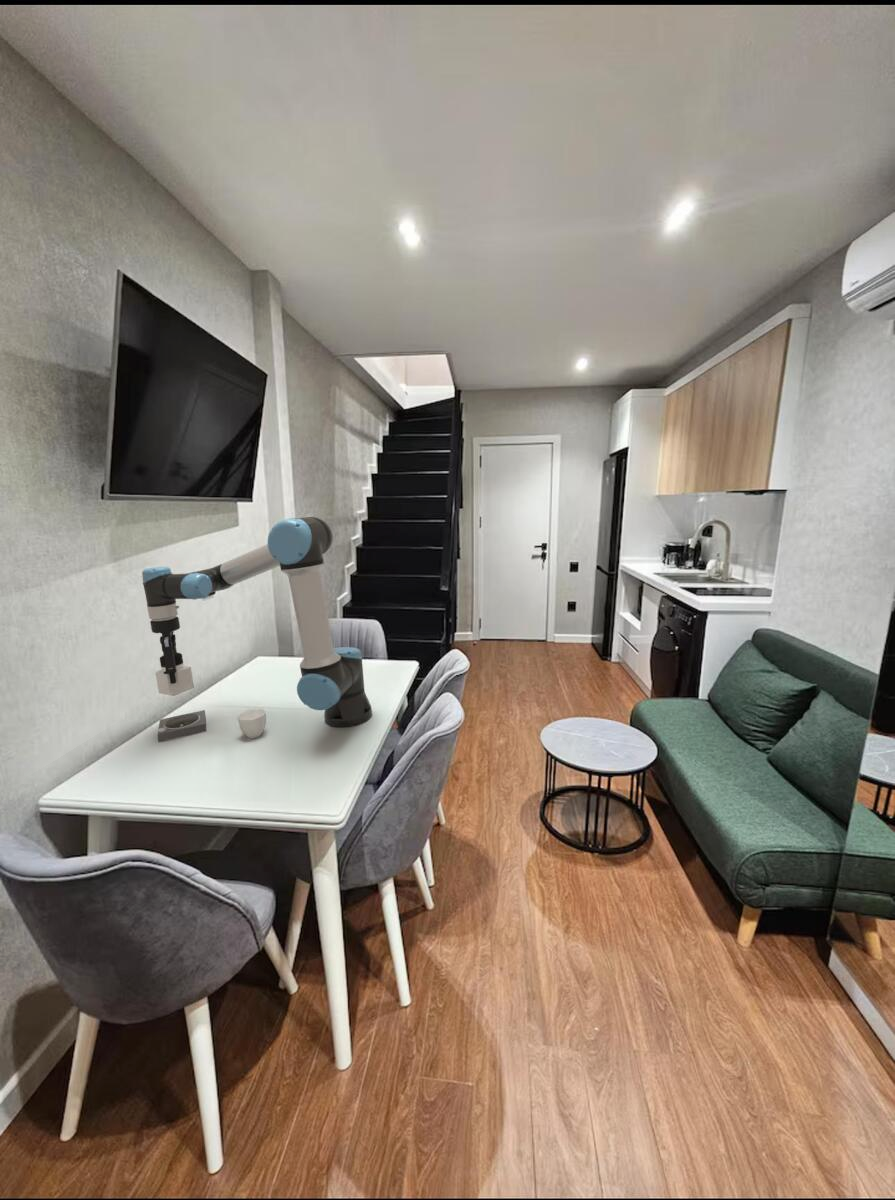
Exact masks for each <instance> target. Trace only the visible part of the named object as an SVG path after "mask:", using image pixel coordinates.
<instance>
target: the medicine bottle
mask: <svg viewBox="0 0 895 1200" xmlns="http://www.w3.org/2000/svg"><path fill="white" fill-rule="evenodd" d="M174 657H175V665H176V669H177V673H178V679H179V685H180V692H178V693H173V694H170V689H169V684H168V678H167V674H164V672H165V671H166V669H165V662H164V655H163V654H162V655H161V656H160V657H159V663H160V668H161V669H159V670H156V671H155V679H156V684H157V685H156V686H157V689H158V693H159V694H162V695H168V696H173V697H174V696H177V695H180V694H182V693H184V692H187V691H190V690H192V689H193V688H195V685H194V680H193V678H194V677H193V674H192V673H193V672H192V667H191V666H187V665H184V659H183V654H182V653H181V652H178V651H177V652H174ZM169 669H172V668H169Z"/></svg>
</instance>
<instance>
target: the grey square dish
mask: <svg viewBox="0 0 895 1200" xmlns="http://www.w3.org/2000/svg"><path fill="white" fill-rule="evenodd" d="M204 732H207V716H206V711H205V709H204V710H198V711H193V712H188V713H185V714H179V715H176V716H170V717H166V718H161V719H160V720H159V723H158V729H157V734H156V735H157V741H158V743H161V741H162V742H166V741H169V740H173V739H179V738H183V737H187V736H191V735H192V736H193V735H196V734H200V733H204ZM165 740H166V741H165Z"/></svg>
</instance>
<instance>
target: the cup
mask: <svg viewBox="0 0 895 1200" xmlns="http://www.w3.org/2000/svg"><path fill="white" fill-rule="evenodd" d="M237 721H238V725H239V726H238V727H239V728H240V730H241V732H242V734H244V735H245V736H246V737H247V738H249V739H253V738H258V737H260V736H261V735H262V734H263V732H264V730H265V728H266V725H267V716H266V710H264V709H263V708H262V709H261V708H253V709H248V710H245V711H242V712H241V713H240V714H238V716H237Z"/></svg>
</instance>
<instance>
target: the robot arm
mask: <svg viewBox="0 0 895 1200" xmlns="http://www.w3.org/2000/svg"><path fill="white" fill-rule="evenodd" d="M333 535H334V534H333V532H332V529H331V527H330V526H329V524H328V523H327V522H326V521H325V520H323V519H321V518H319V517H316V516H307V517H290V518H286V519H283V520H280V521H277V522H276V523H275V524H274V525H273V527H272V528H271V529H270V531H269V533H268V536H267V544H265V545H262V546H260V547H258V548H255V549H253V550H251V551H248V552H246V553H244V554H241V555H239V556H236V557H235V558H232V559H230V560H228V561H225V562H223V563H220V564H218V565H216V566H215V565H214V566H213V567H211V568H207V569H202V570H197V571H191V572H188V573H173V572H172V570H171V568H170V567H169V566H156V567H148V568H144V569H143V570H142V572H141V574H142V575H141V576H142V585H143V590H144V594H145V600H146V605H147V606H146V607H147V612H148V618H149V619H150V621H149V623H150V628H151V632H152V633H153V634H161V636H160V638H159V642H160V644H161V651H162V652H163V654H162V655H164V662H165V669H166V671H165V672H164V674H167V678H168V684H169V689H170V694H173V693H178V692H180V685H179V679H178V673H177V669H176V665H175V657H174V652H177V653H178V651H177V642H176V634H174V633H175V631H177V630H180V628H181V625H180V624H181V623H180V618H179V617H178V614H179V613H178V609H180V606H179V605H177V600H199V599H200V600H201V599H206V598H208V597H209V595H210V594H212V593H215V592H219V591H220V592H221V591H224V590H225V591H226V590H227V589H229V588H231V587H233V586H234V585H237V584H239V583H242V582H244V581H247V580H249V579H252V578H253V577H256V576H258V575H260V574H263V573H266V572H268V571H270V570H273V569H276V568H277V567H280V570H281V571H280V572H282V573H283V574H285V575H286V576H287V577H288V582H289V588H290V592H291V599H292V603H293V608H294V613H295V619H296V625H297V627H298V628H297V629H298V634H299V640H300V643H301V648H302V655H303V659H302V660H301V661H300V663H299V669H300V673H301V674H300V675H301V677H300V678H299V681H298V683H297V686H296V691H297V692H296V694H297V696H298V698H299V700H300V702H301V703H303V705H305V706H307V707H308V708H309V709H311V710H315V711H324V713H323V715H324V721H325V723H326V724H327V725H329V726H331V727H336V728H347V727H353V726H358V725H360V724H363V723H365V722H367V721H368V720H370V719H371V718H372V715H373V710H372V704H371V703H370V700H369V698H368V696H367V694H366V691H365V681H364V667H363V657H362V652H361V650H360V649H359V648H357V647H351V646H348V647H346V646H344V647H343V646H342V647H334V642H333V637H332V632H331V626H330V619H329V616H328V609H327V604H326V599H325V593H324V587H323V583H322V576H321V569H322V568H323V566H324V565H325V563H324V557H323V555H324V554H326V553H327V552H328V551H329V549H330V548H331V546H332V543H333V541H334V540H333V537H334V536H333ZM169 668H172V669H169Z"/></svg>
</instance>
